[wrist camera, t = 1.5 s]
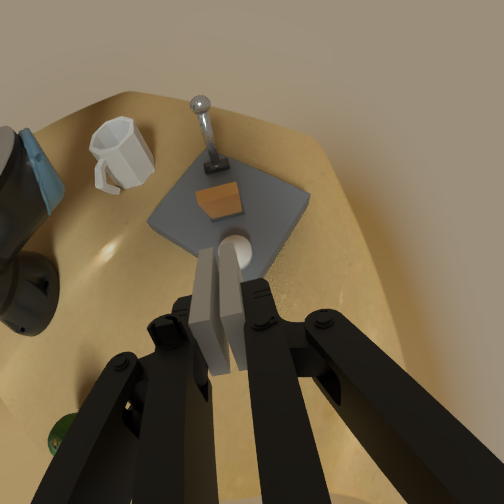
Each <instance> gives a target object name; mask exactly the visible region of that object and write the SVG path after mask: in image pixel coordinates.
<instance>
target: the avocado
mask: <svg viewBox="0 0 504 504" xmlns="http://www.w3.org/2000/svg"><path fill="white" fill-rule="evenodd" d="M77 413H78V412H77ZM77 413H72V414H68V415H65V416H63V417H62V418H61V419H60V420H59V421H58V422H56V424H55V425H54V427H53V428H52V430H51V432H50V434H49V436H48V447H49V450H50V453H51V454H52V455H53V456H54V455H55V453H56V451H57V449H58V448H59V446H60V444H61V442H62V440H63V438H64V436H65V435H66V433H67V431H68V429H69V427H70V426H71V424H72V422H73V420H74V419H75V417H76V415H77Z"/></svg>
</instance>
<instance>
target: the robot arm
mask: <svg viewBox="0 0 504 504" xmlns="http://www.w3.org/2000/svg"><path fill="white" fill-rule="evenodd" d="M64 194H65V187H64V184H63V182H62V180H61V179H60V177H59V175H58V174H57V172H56V171H55V169H54V167H53V166H52V164H51V163H50V161H49V159H48V158H47V156H46V155H45V153H44V151H43V150H42V148H41V147H40V145H39V143H38V142H37V140H36V138H35V137H34V135H33V134H32V133H31V131H30V129H29V128H25V129H24V130H21V131H19V134H18V135H17V134H16V133H15V132H14V130H13V129H12V128H11V127H9V126H3V127H0V321H1V322H2V323H4V324H5V325H6V326H7V327H9V328H10V329H11V330H13V331H14V332H16V333H18V334H20V335H25V336H36V335H38V334H40V333H41V332H42V331H43V330H45V328H46V327H47V326H48V325H49V323H50V321H51V320H52V318H53V315H54V313H55V310H56V306H57V302H58V296H59V280H58V275H57V271H56V268H55V266H54V264H53V263H52V262H51V261H50V260H49V259H48V258H47V257H45V256H43V255H42V254H40V253H37V252H31V251H21V248H22V247H23V246H24V245H25V243H26V242H27V241H28V240H29V239H30V237H31V236H32V235H33V234H34V233H35V232H36V230H37V229H38V228H39V227H40V226H41V225H42V223H43V222H44V221H45V220H46V219H47V218H48V217H50V216H51V214H52V211H53V210H54V209H55V208H56V206H57V205H58V204H59V203H60V202H61V200H62V199H63V197H64ZM147 330H148V332H149V334H150V336H151V338H152V340H153V342H154V344H155V346H156V347H155V352H153V353H151V354H149V355H147V356H144V357H142V358H139V359H138V358H137V356H136V355H135V354H134V353H132V352H122V353H120V354H117V355H116V356H114V357H113V358H112V359H111V360H110V361H109V362H108V364H107V365H106V367H105V368H104V370H103V372H102V373H101V375H100V376H99V378H98V380H97V381H96V383H95V385H94V386H93V388H92V390H91V391H90V393H89V395H88V396H87V398H86V400H85V401H84V403H83V405H82V406H81V408H80V410H79V412H78V413H77V415H76V417H75V419H74V420H73V422H72V424H71V426H70V427H69V429H68V431H67V433H66V435H65V436H64V438H63V440H62V442H61V444H60V446H59V448H58V449H57V451H56V453H55V455H54V457H53V459H52V461H51V463H50V465H49V467H48V469H47V471H46V473H45V475H44V477H43V479H42V481H41V483H40V485H39V487H38V489H37V491H36V493H35V496H34V497H33V500H32V502H31V504H130V503H131V500H132V504H219V499H218V487H217V474H216V460H215V444H214V426H213V404H212V385H211V382H210V380H209V378H208V369H209V371H210V374H211V376H217V375H222V374H228V373H230V358H229V344H230V347H231V349H232V352H233V355H234V358H235V360H236V363H237V366H238V368H239V371H242V370H248V380H249V389H250V399H251V408H252V417H253V426H254V435H255V444H256V453H257V462H258V470H259V478H260V487H261V495H262V503H263V504H331V500H330V496H329V492H328V488H327V485H326V481H325V477H324V473H323V469H322V466H321V462H320V458H319V455H318V451H317V447H316V443H315V440H314V436H313V432H312V429H311V425H310V421H309V418H308V414H307V410H306V407H305V403H304V399H303V396H302V392H301V388H300V385H299V381H298V378H297V377H312V379H313V381H314V382H315V383H316V385H317V386H318V387H319V389H320V390H321V392H322V393H323V394H324V396H325V397H326V398H327V400H328V401H329V402H330V404H331V405H332V406H333V408H334V409H335V410H336V412H337V413H338V414H339V416H340V417H341V418H342V420H343V421H344V422H345V424H346V425H347V426H348V428H349V429H350V430H351V432H352V433H353V434H354V436H355V437H356V438H357V440H358V441H359V442H360V444H361V445H362V446H363V447H364V449H365V450H366V451H367V453H368V454H369V455H370V457H371V458H372V459H373V460H374V462H375V463H376V464H377V466H378V467H379V468H380V469H381V471H382V472H383V473H384V475H385V476H386V477H387V478H388V480H389V481H390V482H391V483H392V485H393V486H394V487H395V488H396V490H397V491H398V492H399V493H400V495H401V496H402V497H403V498H404V500H405V501H406V502H407V503H408V504H504V464H503V463H502V462H501V461H500V460H499V459H498V458H497V457H496V456H495V455H494V454H493V453H492V452H491V451H490V450H489V449H488V448H487V447H486V446H485V445H484V444H482V443H481V442H480V441H479V440H478V439H477V438H476V437H475V436H474V435H473V434H472V433H471V432H470V431H469V430H468V429H467V428H466V427H465V426H464V425H462V424H461V423H460V422H459V421H458V420H457V419H456V418H455V417H454V416H453V415H452V414H451V413H450V412H449V411H448V410H446V409H445V408H444V407H443V406H442V405H441V404H440V403H439V402H438V401H437V400H436V399H434V397H432V396H431V395H430V394H429V393H428V392H427V391H426V390H425V389H424V388H423V387H421V385H420V384H418V383H417V382H416V381H415V380H414V379H413V378H412V377H411V376H410V375H409V374H408V373H406V372H405V371H404V370H403V369H402V368H401V367H400V366H399V365H398V364H397V363H396V362H394V361H393V360H392V359H391V358H390V357H389V356H388V355H387V354H386V353H385V352H383V351H382V350H381V349H380V348H379V347H378V346H377V345H376V344H375V343H374V342H372V341H371V340H370V339H369V338H368V337H367V336H366V335H365V334H364V333H362V332H361V331H360V330H359V329H358V328H357V327H356V326H355V325H354V324H352V323H351V322H350V321H349V320H348V319H347V318H346V317H345V316H344V315H342V314H341V313H340V312H338V311H336V310H333V309H320V310H316V311H314V312H312V313H310V314H309V315H308V316H307V317H306V318H305V322H289V321H286V320H284V319H282V318H281V317H280V316H279V314H278V312H277V309H276V305H275V302H274V299H273V296H272V293H271V290H270V286H269V283H268V282H267V281H266V280H265V279H263V278H258V279H254V280H249V281H245V282H244V281H243V277H242V273H241V270H240V266H239V262H238V258H237V254H236V251H235V247H234V243H233V242H230V243H226V244H222V245H219V266H218V263H217V259H216V256H215V252H214V249H213V247H210V248H206V249H202V250H199V255H198V261H197V268H196V274H195V280H194V287H193V294H192V295H189V296H185V297H180V298H178V299H177V301H176V302H175V303H174V304H173V308H172V313H171V314H166V315H163V316H160V317H158V318H156V319H154V320H153V321H152V322H151V323H150V324H149V325H148V327H147ZM228 341H229V342H228ZM127 402H129V403H130V404H131V405H130V407H129V408H128V409H126V408H125V406H126V404H127Z"/></svg>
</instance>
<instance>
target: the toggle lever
mask: <svg viewBox="0 0 504 504" xmlns="http://www.w3.org/2000/svg"><path fill="white" fill-rule="evenodd" d="M190 108H191V110H192V112H193V113H195V114H197V116H198V119H199V123H200V127H201V130H202V134H203V137H204V141H205V144H206V148H207V151H208V155H209V158H210V162H206V163H203V166H204V170H205V173H206V175H208V174H211V173H215V172H219V171H223V170H227V169H230V166H229V162H228V158H227V157H226V158H221V159H220V157H219V153H218V150H217V146H216V142H215V138H214V134H213V130H212V126H211V122H210V119H209V115H208V110H209V109H210V100H209V99H208V98H207V97H206V96H203V95H198V96H196V97H194V98H193V99H192V100H191V102H190Z"/></svg>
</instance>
